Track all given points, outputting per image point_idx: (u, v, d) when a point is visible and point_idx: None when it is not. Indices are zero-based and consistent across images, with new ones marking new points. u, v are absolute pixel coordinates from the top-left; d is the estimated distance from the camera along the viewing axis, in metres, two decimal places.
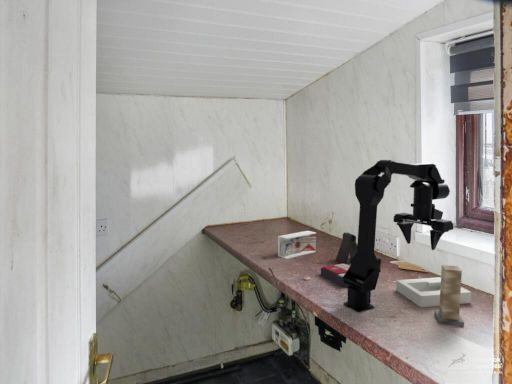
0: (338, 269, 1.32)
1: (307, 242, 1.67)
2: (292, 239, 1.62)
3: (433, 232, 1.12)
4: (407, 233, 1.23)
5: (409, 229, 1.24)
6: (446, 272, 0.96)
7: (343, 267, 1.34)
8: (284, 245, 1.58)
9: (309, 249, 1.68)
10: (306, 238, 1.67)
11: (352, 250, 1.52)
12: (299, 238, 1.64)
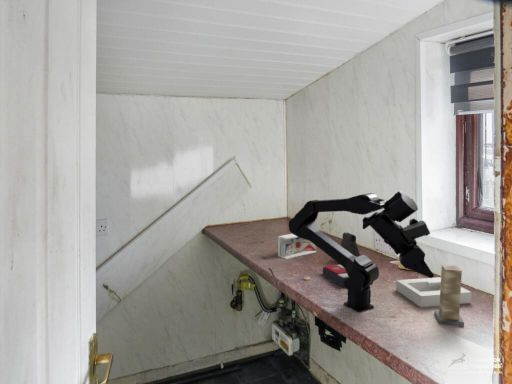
0: (339, 269, 1.32)
1: (307, 242, 1.67)
2: (292, 239, 1.62)
3: None
4: None
5: None
6: (446, 272, 0.96)
7: None
8: (284, 245, 1.58)
9: (310, 249, 1.67)
10: None
11: (352, 250, 1.52)
12: (299, 238, 1.64)
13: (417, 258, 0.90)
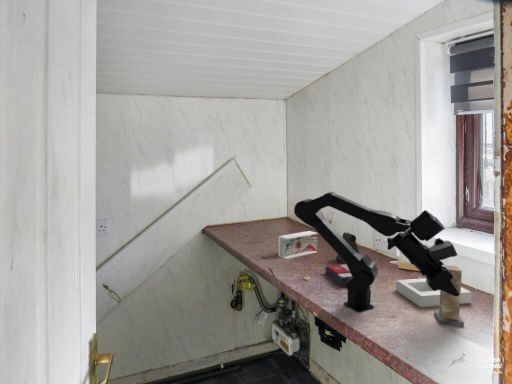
0: (341, 269, 1.32)
1: (308, 242, 1.66)
2: (293, 239, 1.62)
3: None
4: None
5: None
6: None
7: (347, 267, 1.33)
8: (284, 245, 1.57)
9: (310, 249, 1.67)
10: (307, 238, 1.66)
11: None
12: (300, 238, 1.63)
13: (446, 281, 0.89)
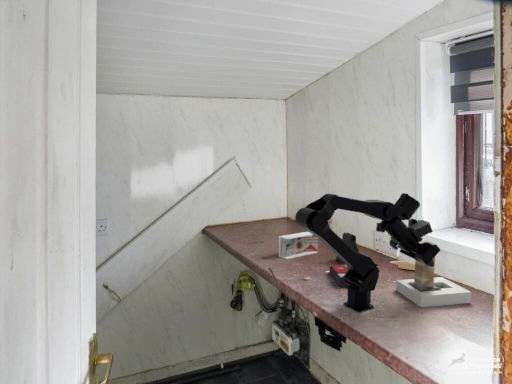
0: (343, 269, 1.32)
1: (309, 243, 1.66)
2: (293, 239, 1.62)
3: (417, 260, 1.08)
4: None
5: None
6: None
7: None
8: (285, 245, 1.57)
9: (311, 250, 1.66)
10: (308, 239, 1.66)
11: None
12: (301, 238, 1.63)
13: (435, 253, 1.03)
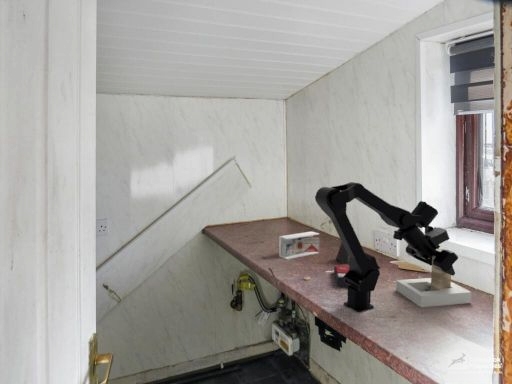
0: (346, 269, 1.31)
1: (310, 243, 1.65)
2: (294, 239, 1.61)
3: (438, 269, 1.08)
4: (428, 261, 1.18)
5: None
6: None
7: None
8: (285, 245, 1.57)
9: (312, 250, 1.66)
10: (309, 239, 1.65)
11: None
12: (301, 239, 1.63)
13: (453, 261, 1.04)
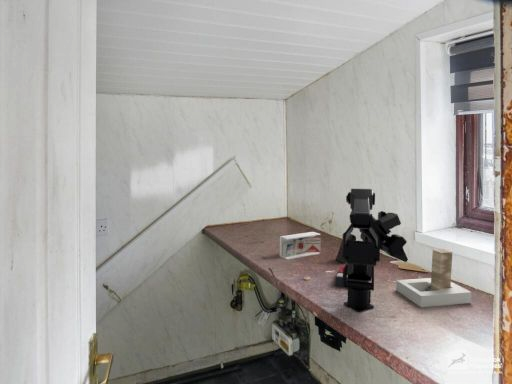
0: None
1: (311, 243, 1.65)
2: (295, 240, 1.61)
3: None
4: (381, 246, 1.16)
5: (381, 241, 1.16)
6: (441, 255, 1.12)
7: None
8: (285, 245, 1.57)
9: (313, 250, 1.65)
10: (310, 239, 1.64)
11: None
12: (302, 239, 1.62)
13: (401, 246, 1.02)
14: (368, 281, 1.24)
